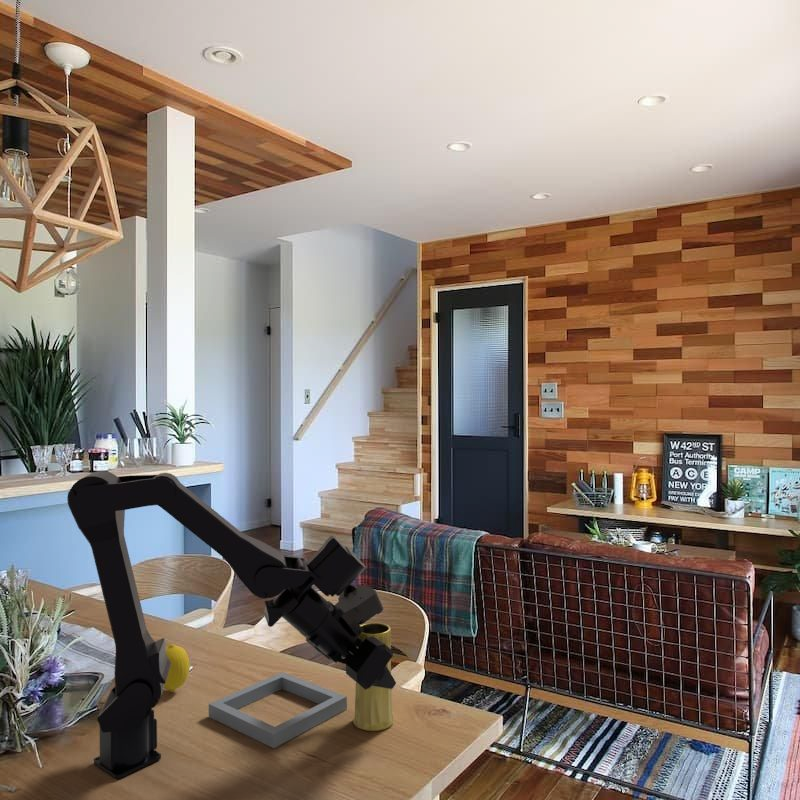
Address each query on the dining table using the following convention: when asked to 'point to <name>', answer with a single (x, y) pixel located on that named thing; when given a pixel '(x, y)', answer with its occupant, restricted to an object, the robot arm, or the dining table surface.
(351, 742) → the dining table surface
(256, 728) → the stand
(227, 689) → the dining table surface
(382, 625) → the vase
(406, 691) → the dining table surface
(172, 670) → the lemon
